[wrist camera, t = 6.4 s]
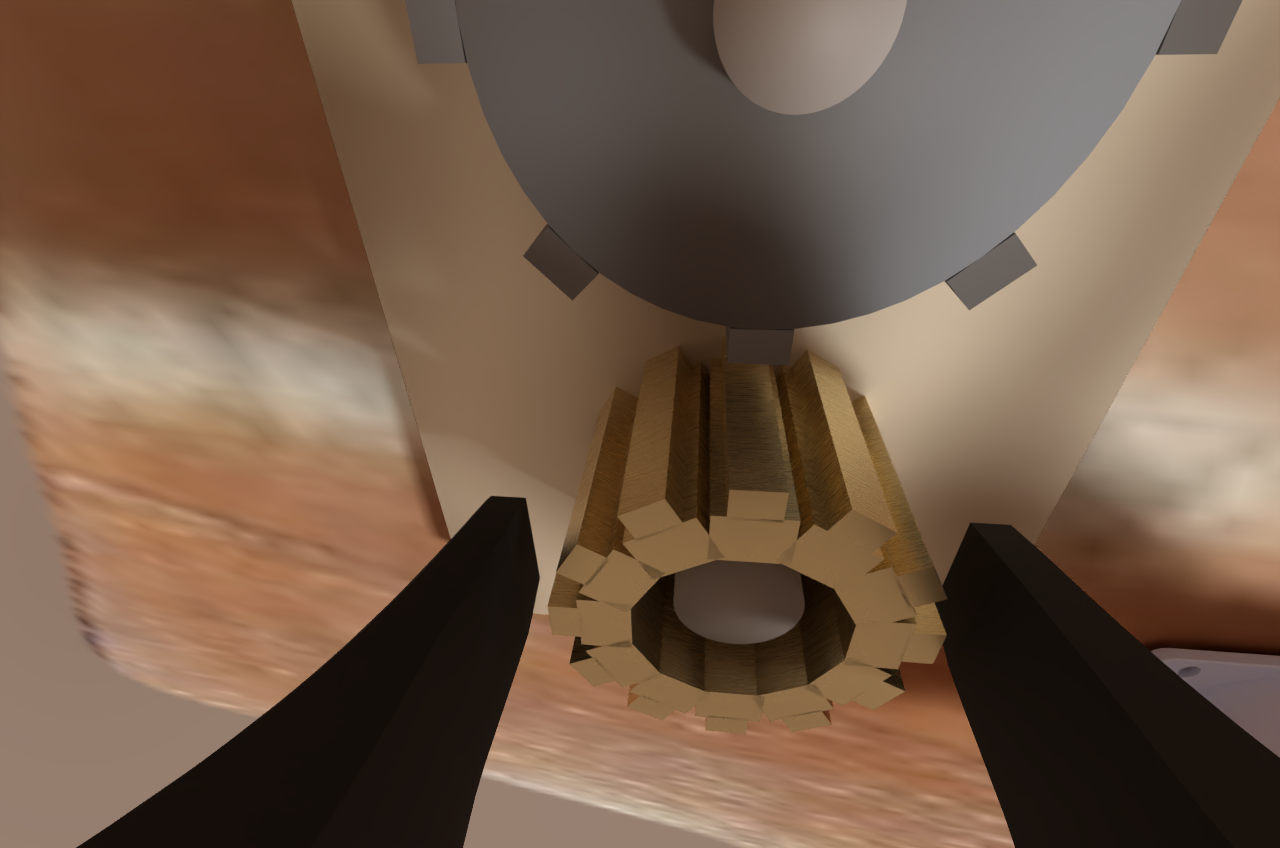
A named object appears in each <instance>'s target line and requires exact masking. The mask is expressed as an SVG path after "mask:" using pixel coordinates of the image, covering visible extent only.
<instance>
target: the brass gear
mask: <svg viewBox="0 0 1280 848" xmlns="http://www.w3.org/2000/svg"><path fill="white" fill-rule="evenodd" d="M714 560H727V561H742V562H758V563H773V564H783V565H785V566H787V567H789V568H791V569H794V570H796V571H798V572H800V575H801V581H802V588H803V594H804V601H805V607H804V612H803V615H802V617H801V619H800V620H799V622H798V623H797V624H796V625H795V626H794V627H793V628H792V629H791V630H789V631H788V632H786V633H785V634H783V635H781V636H779V637H776V638H774V639H771V640H768V641H764V642H759V643H752V644H730V643H723V642H718V641H714V640H711V639H708V638H705V637H703V636H701V635H698V634H696V633H695V632H693V631H692V630H690V629H689V628H688V627H686V626H685V625H684V624H683V623H682V622H681V620H680V619H679V618H678V616H677V614H676V612H675V609H674V604H673V598H674V582H675V573H676V572H679V571H682V570H686V569H689V568H692V567H695V566H698V565H702V564H705V563H708V562H711V561H714ZM946 599H947V597H946V594H945V592H944V589H943V587H942V584H941V582H940V579H939V577H938V574H937V572H936V569H935V567H934V564H933V562H932V559H931V557H930V554H929V552H928V549H927V547H926V544H925V542H924V539H923V537H922V534H921V531H920V529H919V526H918V524H917V521H916V519H915V516H914V514H913V511H912V509H911V506H910V504H909V501H908V499H907V496H906V494H905V491H904V489H903V486H902V484H901V481H900V479H899V476H898V474H897V471H896V469H895V466H894V464H893V461H892V459H891V456H890V454H889V451H888V449H887V446H886V444H885V441H884V439H883V436H882V434H881V431H880V429H879V426H878V424H877V422H876V419H875V417H874V415H873V413H872V410H871V408H870V406H869V404H868V401H867V399H866V397H865V396H864V397H861V398H859V399H856V400H854V401H851V400H850V398H849V395H848V392H847V389H846V386H845V383H844V381H843V378H842V375H841V372H840V369H839V368H838V367H836V366H835V365H833V364H831V363H830V362H828V361H826V360H824V359H823V358H821V357H819V356H818V355H816V354H814V353H812V352H811V351H809V350H806V351H805V353H804V354H803V355H802V356H801V357H800V358H799V360H798V361H797V362H796V363H795V364H794V365H793V367H792V368H790V367H788V366H786V365H780V366H779V367H778V368H777V370H776V371H775V372H774V367H773V365H763V364H733V363H727V346H726V336H723V347H722V359H714V358H710V373H708V372H707V370H706V368H705V367H704V365H703V363H702V362H701V360H700V361H698V362H696V363H694V364H690V363H689V361H688V359H687V358H686V356H685V354H684V353H683V351H682V349H681V348H680V346H676V347H674V348H672V349H670V350H668V351H666V352H664V353H662V354H660V355H658V356H655V357H653V358H651V359H649V360H647V361H645V366H644V372H643V377H642V383H641V388H640V393H639V394H638V396H637V397H635V396H633V395H632V394H630V393H628V392H626V391H624V390H622V389H620V388H618V387H615V389H614V390H613V392H612V393H611V395H610V396H609V398H608V400H607V401H606V403H605V404H604V406H603V407H602V409H601V410H600V412H599V416H598V419H597V423H596V427H595V430H594V434H593V438H592V441H591V445H590V449H589V452H588V456H587V460H586V463H585V467H584V471H583V474H582V478H581V482H580V485H579V489H578V493H577V496H576V500H575V504H574V508H573V511H572V515H571V519H570V522H569V526H568V530H567V533H566V537H565V541H564V544H563V548H562V552H561V555H560V559H559V563H558V566H557V570H556V576H555V580H554V583H553V587H552V591H551V594H550V598H549V602H548V606H547V607H548V613H549V619H550V625H551V630H552V635H565V636H575V641H574V645H573V650H572V655H571V660H570V665H571V666H572V667H573V668H574V669H575V670H577V671H578V672H579V673H580V674H581V675H582V676H583V677H584V678H585V679H586V680H587V681H588V682H589V683H590V684H591V685H592V686H596V685H600V684H604V683H608V682H612V681H616V682H617V683H618V684H619V685H620V686H621V687H624V686H628V685H630V689H629V697H628V706H627V707H629V708H632V709H634V710H637V711H639V712H642V713H645V714H647V715H650V716H652V717H655V718H657V719H660V720H663V719H664V718H666V717H667V716H668V715H669V714H671V713H672V712H673V711H674V710H677V711H680V712H682V713H685V714H686V713H687V712H688V711H689V710H691V709H692V708H693V707H695V716H701V717H706V730H709V731H720V732H731V733H742V734H746V729H747V723H748V721H757V722H760V718H761V713H762V712H763V713H764V714H765V715H766V716H767V718H768V719H769V720H770V721H774V720H779V719H782V720H783V722H784V723H785V724H786V725H787V726H788V728H789V729H790V730H791V731H792V732H794V731H800V730H805V729H811V728H816V727H822V726H827V725H831V719H830V713H829V710H831V709H833V703H832V701H833V702H836V703H838V704H840V705H845V704H846V703H848V702H850V701H851V700H852V701H854V702H856V703H858V704H861V705H863V706H865V707H868V708H870V709H872V710H874V709H876V708H878V707H879V706H881V705H883V704H885V703H886V702H888V701H890V700H891V699H893V698H895V697H896V696H898V695H900V694H902V693H903V692H905V689H904V685H903V682H902V678H901V675H900V671H899V666H900V663H901V662H914V663H927V664H933V663H934V661H935V659H936V657H937V655H938V652H939V650H940V648H941V646H942V644H943V642H944V640H945V638H946V636H947V635H946V632H945V629H944V627H943V624H942V621H941V619H940V616H939V613H938V611H937V608H936V605H935V603H934V602H938V601H942V600H946Z"/></svg>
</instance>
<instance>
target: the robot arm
mask: <svg viewBox="0 0 1280 848" xmlns="http://www.w3.org/2000/svg"><path fill="white" fill-rule="evenodd" d="M539 581H540V575H539V569H538V563H537V558H536V552H535V546H534V541H533V535H532V529H531V524H530V518H529V513H528V507H527V501H526V498H521V497H503V496H490V497H489V498H488V499H487V500H486V501H485V502H484V503H483V504H482V505H481V506H480V507H479V508H478V510H477V511H476V512H475V513H474V514H473V515H472V516H471V517H470V518H469V520H468V521H467V522H466V523H465V524H464V525H463V526H462V527H461V529H460V530H459V531H458V532H457V533H456V534H455V535H454V536H453V537H452V538H451V540H450V541H449V542H448V543H447V544H446V545H445V546H444V547H443V548H442V549H441V550H440V552H439V553H438V554H437V555H436V556H435V557H434V558H433V559H432V560H431V561H430V562H429V563H428V564H427V565H426V566H425V567H424V568H423V570H422V571H421V572H420V573H419V574H418V575H417V576H416V577H415V578H414V579H413V580H412V581H411V582H410V583H409V584H408V585H407V586H406V587H405V588H404V589H403V590H402V591H401V592H400V593H399V594H398V595H397V596H396V597H395V598H394V599H393V600H392V601H391V602H390V603H389V604H388V605H387V606H386V607H385V608H384V609H383V610H382V611H381V612H380V613H379V614H378V615H377V616H376V617H375V618H374V619H373V620H372V621H371V622H369V623H368V624H367V625H366V626H365V627H364V628H363V629H362V630H361V631H360V632H359V633H358V634H357V635H356V636H355V637H354V638H353V639H352V640H351V641H350V642H348V643H347V644H346V645H345V646H344V647H343V648H342V649H341V650H340V651H338V652H337V653H336V654H335V655H334V656H333V657H332V658H331V659H330V660H328V661H327V662H326V663H325V664H324V665H323V666H322V667H320V668H319V669H318V670H317V671H316V672H315V673H313V674H312V675H311V676H310V677H309V678H308V679H306V680H305V681H304V682H303V683H302V684H300V685H299V686H298V687H297V688H296V689H294V690H293V691H292V692H291V693H290V694H288V695H287V696H286V697H285V698H284V699H282V700H281V701H280V702H279V703H277V704H276V705H275V706H274V707H272V708H271V709H270V710H269V711H267V712H266V713H265V714H263V715H262V716H261V717H260V718H258V719H257V720H256V721H254V722H253V723H252V724H251V725H250V726H248V727H247V728H245V729H244V730H243V731H242V732H240V733H239V734H238V735H236V736H235V737H234V738H233V739H231V740H230V741H229V742H227V743H226V744H225V745H224V746H222V747H221V748H220V749H218V750H217V751H215V752H214V753H213V754H211V755H210V756H209V757H207V758H206V759H205V760H203V761H202V762H201V763H199V764H198V765H196V766H195V767H194V768H192V769H191V770H189V771H188V772H187V773H185V774H184V775H182V776H181V777H179V778H178V779H176V780H175V781H174V782H172V783H171V784H169V785H168V786H166V787H165V788H164V789H162V790H161V791H159V792H158V793H156V794H155V795H153V796H152V797H150V798H149V799H147V800H146V801H145V802H143V803H142V804H140V805H139V806H137V807H136V808H134V809H133V810H132V811H130V812H129V813H127V814H126V815H125V816H123V817H122V818H120V819H119V820H117V821H116V822H114V823H113V824H111V825H110V826H108V827H107V828H105V829H104V830H102V831H101V832H99V833H98V834H96V835H95V836H93V837H92V838H90V839H89V840H87V841H86V842H84V843H83V844H81V845H80V846H78V847H77V848H463V845H464V841H465V837H466V833H467V829H468V824H469V820H470V816H471V812H472V808H473V804H474V800H475V796H476V792H477V789H478V785H479V782H480V779H481V775H482V772H483V768H484V765H485V762H486V759H487V756H488V753H489V750H490V747H491V744H492V741H493V738H494V735H495V732H496V729H497V726H498V723H499V720H500V717H501V715H502V712H503V709H504V706H505V703H506V700H507V697H508V694H509V691H510V688H511V685H512V682H513V679H514V676H515V673H516V670H517V667H518V664H519V661H520V658H521V655H522V652H523V649H524V646H525V642H526V639H527V636H528V633H529V628H530V624H531V619H532V615H533V610H534V605H535V600H536V595H537V590H538V585H539ZM942 587H943V589H944V592H945V594H946V597H947V599H946V600H942V601H938V602H935V605H936V608H937V611H938V613H939V616H940V619H941V621H942V624H943V627H944V629H945V632H946V635H947V636H946V638H945V640H944V642H943V646H944V650H945V654H946V658H947V662H948V666H949V669H950V672H951V674H952V677H953V680H954V683H955V686H956V688H957V691H958V694H959V696H960V699H961V702H962V705H963V707H964V710H965V713H966V715H967V718H968V721H969V723H970V726H971V729H972V731H973V734H974V737H975V739H976V742H977V744H978V747H979V750H980V752H981V755H982V758H983V760H984V763H985V766H986V768H987V771H988V773H989V776H990V779H991V781H992V784H993V787H994V789H995V792H996V795H997V797H998V800H999V803H1000V805H1001V808H1002V810H1003V813H1004V816H1005V819H1006V822H1007V825H1008V828H1009V831H1010V834H1011V837H1012V839H1013V842H1014V845H1015V848H1280V656H1275V655H1261V654H1247V653H1233V652H1219V651H1206V650H1192V649H1178V648H1159V649H1155V650H1152V651H1150V650H1148V649H1147V648H1146V647H1145V646H1144V645H1143V644H1142V643H1140V642H1139V641H1138V640H1137V639H1136V638H1135V637H1134V636H1133V635H1131V634H1130V633H1129V632H1128V631H1127V630H1126V629H1125V628H1124V627H1122V626H1121V625H1120V624H1119V623H1118V622H1117V621H1116V620H1115V619H1114V618H1112V617H1111V616H1110V615H1109V614H1108V613H1107V612H1106V611H1105V610H1104V609H1103V608H1101V607H1100V606H1099V605H1098V604H1097V603H1096V602H1095V601H1094V600H1093V599H1092V598H1091V597H1089V596H1088V595H1087V594H1086V593H1085V592H1084V591H1083V590H1082V589H1081V588H1080V587H1079V586H1078V585H1076V584H1075V583H1074V582H1073V581H1072V580H1071V579H1070V578H1069V577H1068V576H1067V575H1066V574H1065V573H1063V572H1062V571H1061V570H1060V569H1059V568H1058V567H1057V566H1056V565H1055V564H1054V563H1053V562H1052V561H1051V560H1049V559H1048V558H1047V557H1046V556H1045V555H1044V554H1043V553H1042V552H1041V551H1040V550H1039V549H1037V548H1036V547H1035V546H1034V545H1033V544H1032V543H1031V542H1030V541H1029V540H1028V539H1026V538H1025V537H1024V536H1023V535H1022V534H1021V533H1020V532H1018V531H1017V530H1016V529H1015V528H1014V527H1013V526H1012V525H1005V524H987V523H970V524H969V526H968V529H967V531H966V533H965V535H964V538H963V540H962V542H961V544H960V547H959V549H958V551H957V554H956V556H955V558H954V560H953V563H952V565H951V567H950V569H949V572H948V574H947V576H946V579H945V581H944V583H943V585H942Z"/></svg>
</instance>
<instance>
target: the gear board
mask: <svg viewBox="0 0 1280 848" xmlns="http://www.w3.org/2000/svg"><path fill="white" fill-rule="evenodd" d="M291 1H292V4H293V8H294V11H295V15H296V18H297V21H298V25H299V28H300V32H301V35H302V38H303V42H304V45H305V48H306V52H307V55H308V59H309V62H310V65H311V69H312V72H313V75H314V79H315V82H316V86H317V89H318V92H319V96H320V99H321V102H322V106H323V109H324V113H325V116H326V119H327V123H328V126H329V129H330V133H331V136H332V140H333V143H334V146H335V150H336V153H337V157H338V160H339V163H340V167H341V170H342V173H343V177H344V180H345V184H346V187H347V190H348V194H349V197H350V200H351V204H352V207H353V211H354V214H355V217H356V221H357V224H358V227H359V231H360V234H361V238H362V241H363V244H364V248H365V251H366V254H367V258H368V261H369V265H370V268H371V271H372V275H373V278H374V282H375V285H376V288H377V292H378V295H379V298H380V302H381V305H382V309H383V312H384V315H385V319H386V322H387V325H388V329H389V332H390V336H391V339H392V342H393V346H394V349H395V352H396V356H397V359H398V363H399V366H400V369H401V373H402V376H403V379H404V383H405V386H406V390H407V393H408V396H409V400H410V403H411V406H412V410H413V413H414V417H415V420H416V423H417V427H418V430H419V434H420V437H421V440H422V444H423V447H424V450H425V454H426V457H427V461H428V464H429V467H430V471H431V474H432V477H433V481H434V484H435V488H436V491H437V494H438V498H439V501H440V504H441V508H442V511H443V515H444V518H445V521H446V525H447V528H448V531H449V535H450V538H452V537H453V536H454V535H455V534H456V533H457V532H458V531H459V530H460V529H461V527H462V526H463V525H464V524H465V523H466V522H467V521H468V520H469V518H470V517H471V516H472V515H473V514H474V513H475V512H476V511H477V510H478V508H479V507H480V506H481V505H482V504H483V503H484V502H485V501H486V500H487V499H488V498H489V497H490V496H503V497H521V498H526V501H527V507H528V513H529V518H530V524H531V529H532V535H533V541H534V546H535V552H536V558H537V563H538V569H539V575H540V581H539V585H538V590H537V595H536V600H535V605H534V610H533V613H534V614H548V615H549V613H548V607H547V606H548V602H549V598H550V594H551V591H552V587H553V583H554V580H555V576H556V570H557V566H558V563H559V559H560V555H561V552H562V548H563V544H564V541H565V537H566V533H567V530H568V526H569V522H570V519H571V515H572V511H573V508H574V504H575V500H576V496H577V493H578V489H579V485H580V482H581V478H582V474H583V471H584V467H585V463H586V460H587V456H588V452H589V449H590V445H591V441H592V438H593V434H594V430H595V427H596V423H597V419H598V416H599V412H600V410H601V409H602V407H603V406H604V404H605V403H606V401H607V400H608V398H609V396H610V395H611V393H612V392H613V390H614V389H615V387H618V388H620V389H622V390H624V391H626V392H628V393H630V394H632V395H633V396H635V397H637V396H638V394H639V393H640V388H641V383H642V377H643V372H644V366H645V361H647V360H649V359H651V358H653V357H655V356H658V355H660V354H662V353H664V352H666V351H668V350H670V349H672V348H674V347H676V346H680V348H681V349H682V351H683V353H684V354H685V356H686V358H687V359H688V361H689V363H690V364H694V363H696V362H698V361H700V360H701V362H702V363H703V365H704V367H705V368H706V370H707V372H708V373H710V358H714V359H722V347H723V336H726V346H727V363H733V364H763V365H773V367H774V372H775V371H776V370H777V368H778V367H779V366H780V365H786V366H788V367H790V368H792V367H793V365H794V364H795V363H796V362H797V361H798V360H799V358H800V357H801V356H802V355H803V354H804V353H805V351H806V350H809V351H811V352H812V353H814V354H816V355H818V356H819V357H821V358H823V359H824V360H826V361H828V362H830V363H831V364H833V365H835V366H836V367H838V368H839V369H840V372H841V375H842V378H843V381H844V383H845V386H846V389H847V392H848V395H849V398H850V400H851V401H854V400H856V399H859V398H861V397H864V396H865V397H866V399H867V401H868V404H869V406H870V408H871V410H872V413H873V415H874V417H875V419H876V422H877V424H878V426H879V429H880V431H881V434H882V436H883V439H884V441H885V444H886V446H887V449H888V451H889V454H890V456H891V459H892V461H893V464H894V466H895V469H896V471H897V474H898V476H899V479H900V481H901V484H902V486H903V489H904V491H905V494H906V496H907V499H908V501H909V504H910V506H911V509H912V511H913V514H914V516H915V519H916V521H917V524H918V526H919V529H920V531H921V534H922V537H923V539H924V542H925V544H926V547H927V549H928V552H929V554H930V557H931V559H932V562H933V564H934V567H935V569H936V572H937V574H938V577H939V579H940V582H941V584H942V585H943V583H944V581H945V579H946V576H947V574H948V572H949V569H950V567H951V565H952V563H953V560H954V558H955V556H956V554H957V551H958V549H959V547H960V544H961V542H962V540H963V538H964V535H965V533H966V531H967V529H968V526H969V524H970V523H987V524H1005V525H1012V526H1013V527H1014V528H1015V529H1016V530H1017V531H1018V532H1020V533H1021V534H1022V535H1023V536H1024V537H1025V538H1026V539H1028V540H1029V541H1030V542H1031V543H1032V544H1033V545H1035V543H1036V541H1037V539H1038V538H1039V536H1040V534H1041V532H1042V530H1043V529H1044V527H1045V525H1046V523H1047V521H1048V519H1049V518H1050V516H1051V514H1052V512H1053V510H1054V508H1055V507H1056V505H1057V503H1058V501H1059V499H1060V497H1061V496H1062V494H1063V492H1064V490H1065V488H1066V487H1067V485H1068V483H1069V481H1070V479H1071V477H1072V476H1073V474H1074V472H1075V470H1076V468H1077V466H1078V465H1079V463H1080V461H1081V459H1082V457H1083V455H1084V454H1085V452H1086V450H1087V448H1088V446H1089V445H1090V443H1091V441H1092V439H1093V437H1094V435H1095V434H1096V432H1097V430H1098V428H1099V426H1100V424H1101V423H1102V421H1103V419H1104V417H1105V415H1106V413H1107V412H1108V410H1109V408H1110V406H1111V404H1112V403H1113V401H1114V399H1115V397H1116V395H1117V393H1118V392H1119V390H1120V388H1121V386H1122V384H1123V382H1124V381H1125V379H1126V377H1127V375H1128V373H1129V372H1130V370H1131V368H1132V366H1133V364H1134V362H1135V361H1136V359H1137V357H1138V355H1139V353H1140V351H1141V350H1142V348H1143V346H1144V344H1145V342H1146V340H1147V339H1148V337H1149V335H1150V333H1151V331H1152V330H1153V328H1154V326H1155V324H1156V322H1157V320H1158V319H1159V317H1160V315H1161V313H1162V311H1163V309H1164V308H1165V306H1166V304H1167V302H1168V300H1169V298H1170V297H1171V295H1172V293H1173V291H1174V289H1175V288H1176V286H1177V284H1178V282H1179V280H1180V278H1181V277H1182V275H1183V273H1184V271H1185V269H1186V267H1187V266H1188V264H1189V262H1190V260H1191V258H1192V256H1193V255H1194V253H1195V251H1196V249H1197V247H1198V246H1199V244H1200V242H1201V240H1202V238H1203V236H1204V235H1205V233H1206V231H1207V229H1208V227H1209V225H1210V224H1211V222H1212V220H1213V218H1214V216H1215V214H1216V213H1217V211H1218V209H1219V207H1220V205H1221V204H1222V202H1223V200H1224V198H1225V196H1226V194H1227V193H1228V191H1229V189H1230V187H1231V185H1232V183H1233V182H1234V180H1235V178H1236V176H1237V174H1238V172H1239V171H1240V169H1241V167H1242V165H1243V163H1244V162H1245V160H1246V158H1247V156H1248V154H1249V152H1250V151H1251V149H1252V147H1253V145H1254V143H1255V141H1256V140H1257V138H1258V136H1259V134H1260V132H1261V130H1262V129H1263V127H1264V125H1265V123H1266V121H1267V120H1268V118H1269V116H1270V114H1271V112H1272V110H1273V109H1274V107H1275V105H1276V103H1277V101H1278V99H1279V98H1280V0H291ZM934 603H935V602H934ZM673 604H674V609H675V612H676V614H677V616H678V618H679V619H680V620H681V622H682V623H683V624H684V625H685V626H686V627H688V628H689V629H690V630H692V631H693V632H695V633H696V634H698V635H701V636H703V637H705V638H708V639H711V640H714V641H718V642H723V643H730V644H752V643H759V642H764V641H768V640H771V639H774V638H776V637H779V636H781V635H783V634H785V633H786V632H788V631H789V630H791V629H792V628H793V627H794V626H795V625H796V624H797V623H798V622H799V620H800V619H801V617H802V615H803V612H804V607H805V601H804V594H803V588H802V581H801V575H800V572H798V571H796V570H794V569H791V568H789V567H787V566H785V565H783V564H773V563H758V562H742V561H727V560H714V561H711V562H708V563H705V564H702V565H698V566H695V567H692V568H689V569H686V570H682V571H679V572H676V573H675V582H674V598H673Z"/></svg>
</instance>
